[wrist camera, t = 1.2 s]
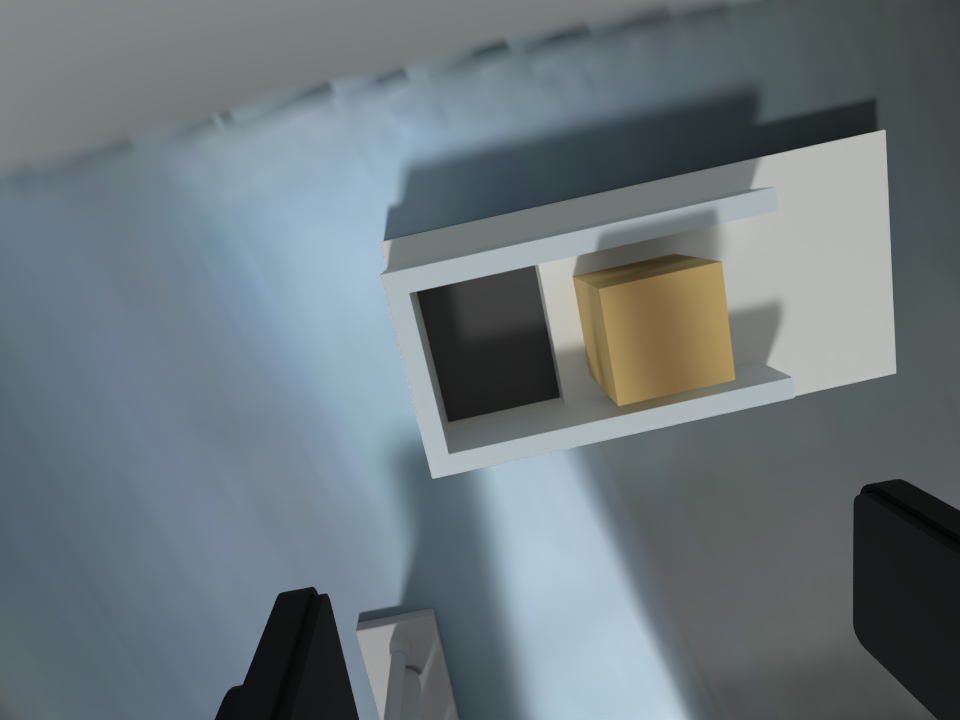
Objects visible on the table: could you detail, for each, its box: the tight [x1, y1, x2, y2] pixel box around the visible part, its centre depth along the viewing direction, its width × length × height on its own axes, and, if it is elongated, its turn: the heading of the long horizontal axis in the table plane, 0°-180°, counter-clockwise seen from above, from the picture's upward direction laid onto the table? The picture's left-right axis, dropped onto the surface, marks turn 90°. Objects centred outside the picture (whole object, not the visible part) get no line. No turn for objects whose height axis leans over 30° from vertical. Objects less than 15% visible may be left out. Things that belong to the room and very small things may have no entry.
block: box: [573, 254, 735, 406], centre depth 27 cm, size 5×5×5 cm
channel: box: [380, 130, 896, 479], centre depth 28 cm, size 24×12×4 cm, turn 102°
